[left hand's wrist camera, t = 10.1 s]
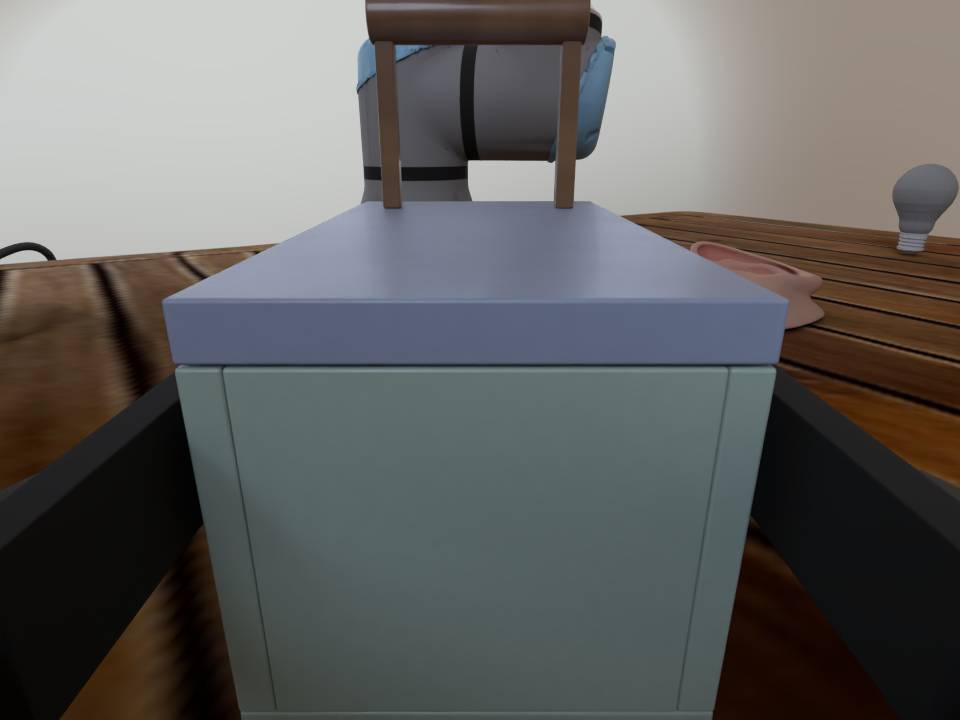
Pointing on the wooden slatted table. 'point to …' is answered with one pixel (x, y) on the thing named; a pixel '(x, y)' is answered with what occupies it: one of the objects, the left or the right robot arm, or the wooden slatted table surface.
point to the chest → (476, 535)
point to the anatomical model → (770, 279)
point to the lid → (476, 255)
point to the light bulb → (922, 203)
